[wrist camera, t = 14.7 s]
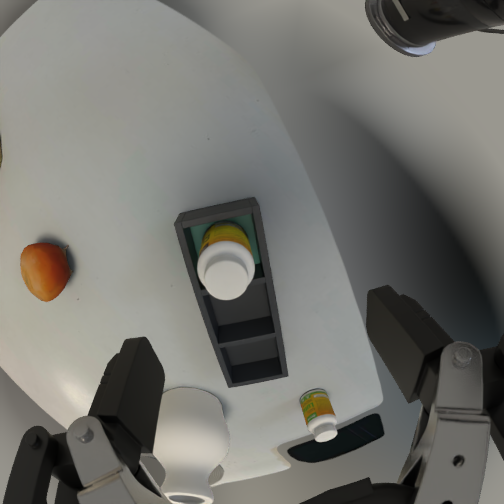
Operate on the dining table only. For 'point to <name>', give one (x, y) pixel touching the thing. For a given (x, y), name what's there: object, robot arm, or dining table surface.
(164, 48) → the dining table surface
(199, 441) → the vase
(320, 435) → the supplement bottle
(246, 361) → the rack
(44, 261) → the fruit
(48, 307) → the dining table surface
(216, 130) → the dining table surface
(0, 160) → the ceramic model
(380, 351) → the robot arm
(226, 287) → the supplement bottle
